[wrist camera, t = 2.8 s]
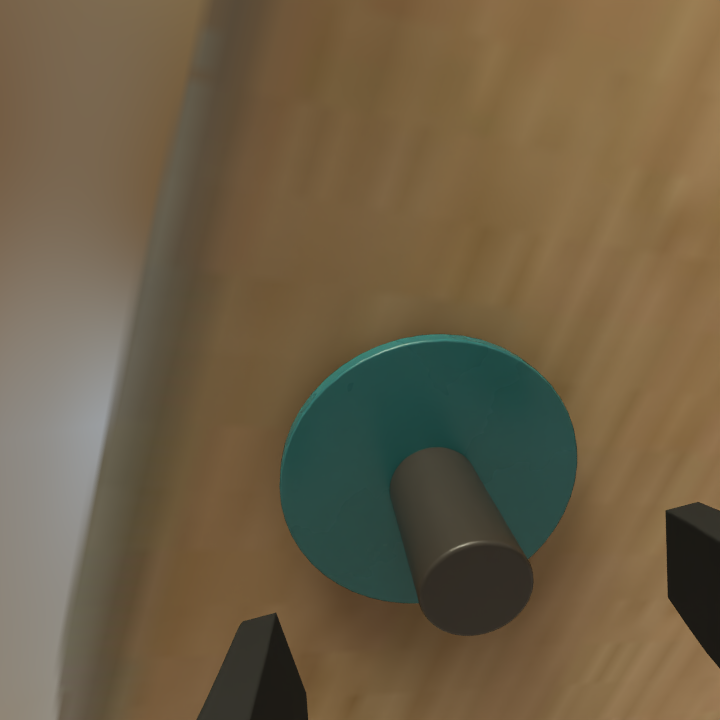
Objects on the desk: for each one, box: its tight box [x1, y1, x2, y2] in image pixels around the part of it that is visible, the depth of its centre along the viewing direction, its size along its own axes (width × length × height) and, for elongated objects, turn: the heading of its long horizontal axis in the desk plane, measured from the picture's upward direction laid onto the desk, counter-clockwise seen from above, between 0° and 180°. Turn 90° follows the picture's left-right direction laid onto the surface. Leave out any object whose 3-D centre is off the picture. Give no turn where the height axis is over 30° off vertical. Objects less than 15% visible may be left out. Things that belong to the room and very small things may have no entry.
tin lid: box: [280, 334, 577, 636], centre depth 12 cm, size 8×8×5 cm
